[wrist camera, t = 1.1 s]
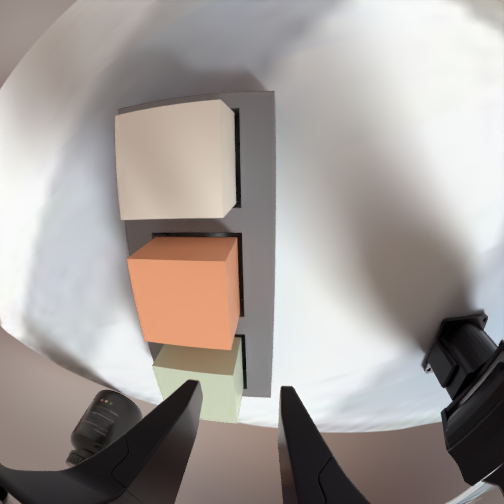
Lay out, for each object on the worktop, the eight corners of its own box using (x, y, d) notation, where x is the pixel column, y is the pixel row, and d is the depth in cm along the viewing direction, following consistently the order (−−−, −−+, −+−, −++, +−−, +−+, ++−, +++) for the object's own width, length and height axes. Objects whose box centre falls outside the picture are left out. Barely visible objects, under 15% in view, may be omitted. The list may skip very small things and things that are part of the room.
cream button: (234, 112, 14) (220, 99, 11) (236, 203, 16) (223, 218, 12) (148, 121, 15) (114, 115, 11) (152, 205, 17) (121, 220, 13)
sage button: (241, 337, 19) (233, 375, 16) (243, 386, 21) (237, 423, 17) (171, 331, 20) (152, 365, 16) (182, 380, 22) (168, 414, 18)
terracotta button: (237, 237, 17) (225, 261, 13) (239, 313, 19) (231, 350, 15) (155, 237, 17) (126, 258, 14) (166, 308, 19) (144, 340, 15)
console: (274, 99, 16) (274, 91, 14) (271, 378, 24) (270, 397, 21) (135, 113, 17) (118, 109, 15) (169, 369, 25) (161, 386, 22)
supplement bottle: (149, 426, 29) (119, 496, 18) (107, 413, 30) (73, 474, 19) (137, 395, 27) (97, 474, 16) (92, 381, 28) (47, 447, 16)
